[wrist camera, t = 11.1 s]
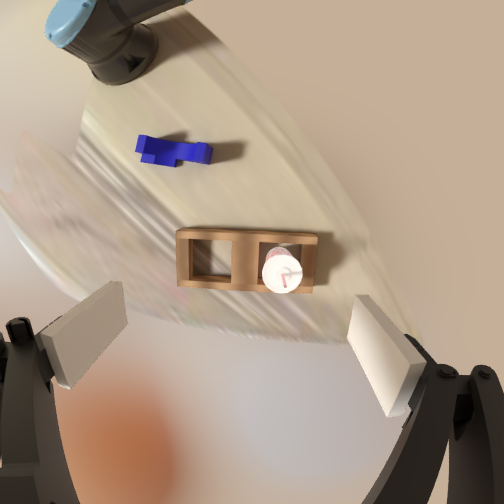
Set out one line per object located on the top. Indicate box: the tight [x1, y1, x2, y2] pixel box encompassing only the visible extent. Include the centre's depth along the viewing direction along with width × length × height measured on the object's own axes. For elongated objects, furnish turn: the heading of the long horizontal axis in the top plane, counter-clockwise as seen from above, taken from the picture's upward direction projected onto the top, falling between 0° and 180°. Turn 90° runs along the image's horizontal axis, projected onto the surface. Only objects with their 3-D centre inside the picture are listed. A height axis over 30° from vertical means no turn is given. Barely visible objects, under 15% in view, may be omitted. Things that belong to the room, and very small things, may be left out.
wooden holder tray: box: [176, 228, 318, 293], centre depth 48 cm, size 24×10×4 cm, turn 88°
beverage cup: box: [262, 247, 302, 293], centre depth 42 cm, size 6×6×14 cm
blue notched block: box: [135, 135, 213, 167], centre depth 43 cm, size 12×4×6 cm, turn 77°
